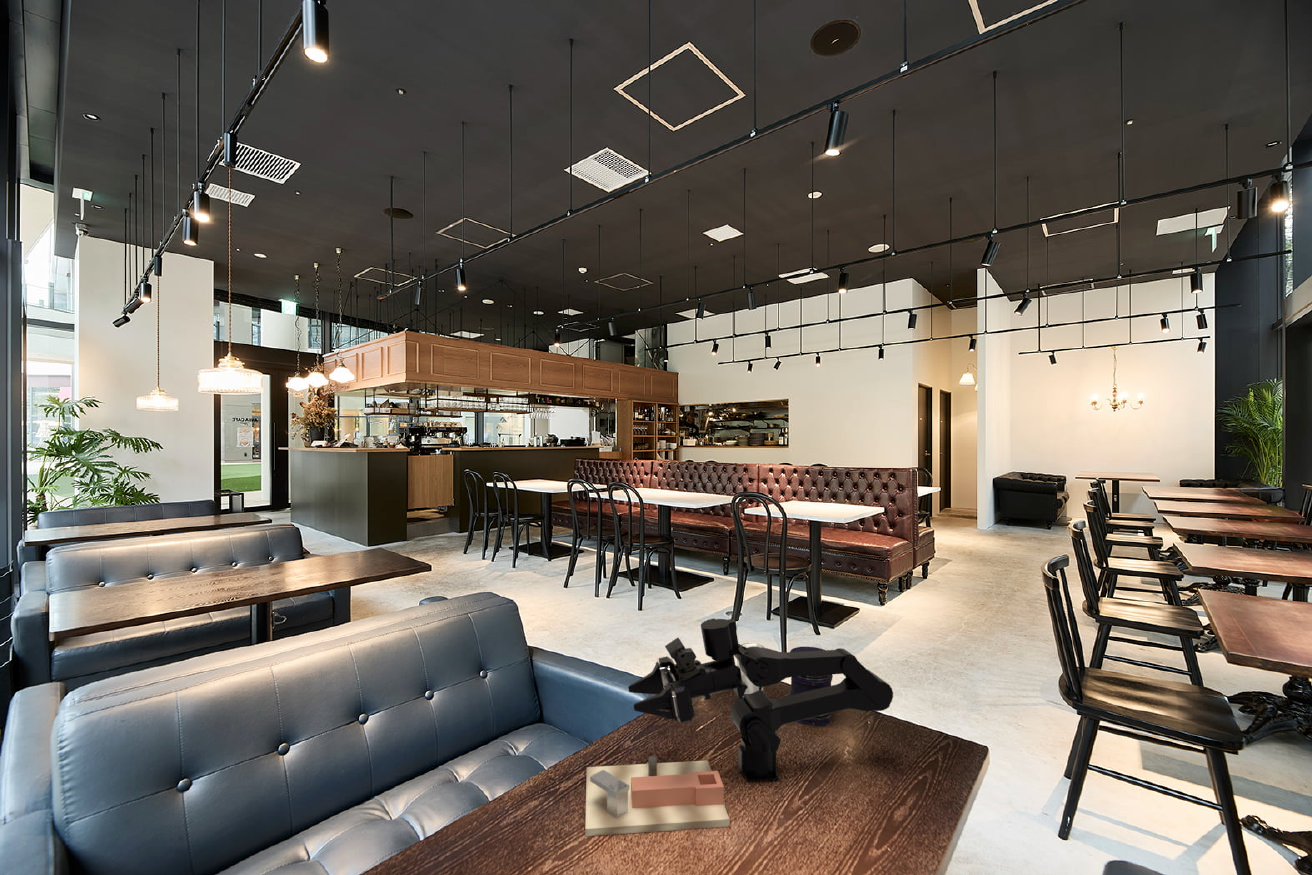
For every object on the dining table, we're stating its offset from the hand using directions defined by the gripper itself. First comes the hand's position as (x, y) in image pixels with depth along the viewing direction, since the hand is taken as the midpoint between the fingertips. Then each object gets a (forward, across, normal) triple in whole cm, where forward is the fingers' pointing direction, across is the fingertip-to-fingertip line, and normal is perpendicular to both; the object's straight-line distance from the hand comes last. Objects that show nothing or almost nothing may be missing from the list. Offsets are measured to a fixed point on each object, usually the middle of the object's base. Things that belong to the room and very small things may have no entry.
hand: (631, 697), depth 107 cm
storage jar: (-42, -21, +23) cm, 52 cm away
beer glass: (-29, -27, +20) cm, 45 cm away
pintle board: (0, +4, +17) cm, 17 cm away
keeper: (+7, +7, +14) cm, 18 cm away
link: (-4, +7, +16) cm, 18 cm away
